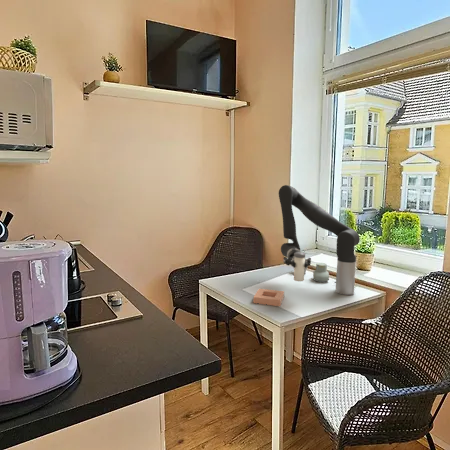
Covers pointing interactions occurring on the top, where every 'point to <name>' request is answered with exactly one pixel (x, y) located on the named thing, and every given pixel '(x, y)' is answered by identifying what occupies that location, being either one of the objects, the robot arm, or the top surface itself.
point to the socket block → (269, 297)
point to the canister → (299, 266)
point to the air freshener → (321, 273)
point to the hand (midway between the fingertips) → (300, 265)
